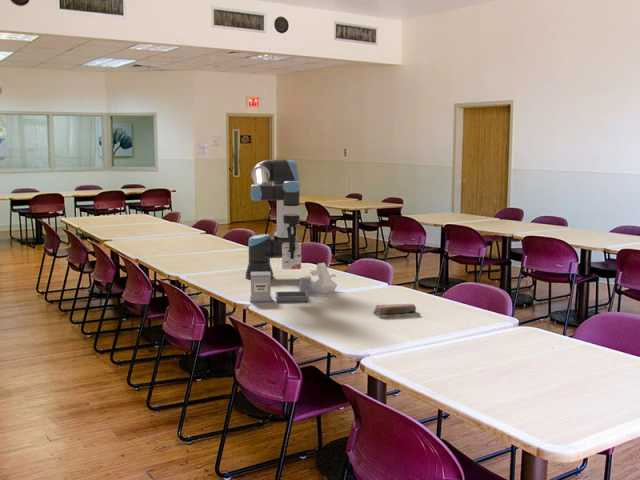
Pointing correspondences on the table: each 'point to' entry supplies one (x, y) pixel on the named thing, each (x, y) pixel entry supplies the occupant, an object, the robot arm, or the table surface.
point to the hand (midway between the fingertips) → (291, 264)
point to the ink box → (286, 256)
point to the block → (305, 283)
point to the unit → (260, 287)
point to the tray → (292, 296)
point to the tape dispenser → (323, 280)
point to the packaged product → (395, 311)
